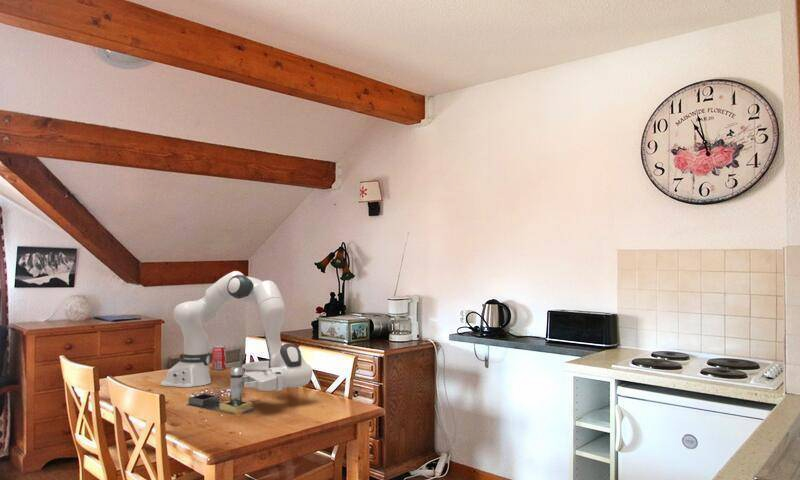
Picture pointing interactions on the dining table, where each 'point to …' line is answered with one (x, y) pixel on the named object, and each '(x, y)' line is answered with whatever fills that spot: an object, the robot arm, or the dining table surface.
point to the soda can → (219, 357)
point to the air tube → (236, 386)
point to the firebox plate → (218, 404)
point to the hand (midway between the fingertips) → (239, 382)
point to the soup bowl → (256, 366)
